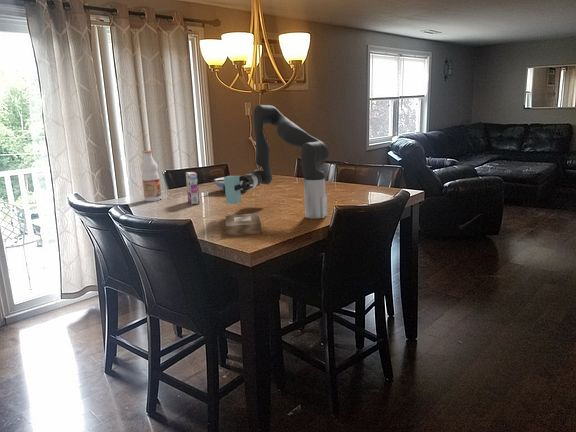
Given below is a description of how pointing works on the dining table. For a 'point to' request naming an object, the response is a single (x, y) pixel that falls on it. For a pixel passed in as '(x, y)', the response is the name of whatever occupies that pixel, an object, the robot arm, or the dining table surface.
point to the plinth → (243, 224)
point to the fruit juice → (150, 178)
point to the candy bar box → (192, 188)
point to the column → (232, 190)
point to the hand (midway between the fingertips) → (229, 188)
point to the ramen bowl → (219, 182)
